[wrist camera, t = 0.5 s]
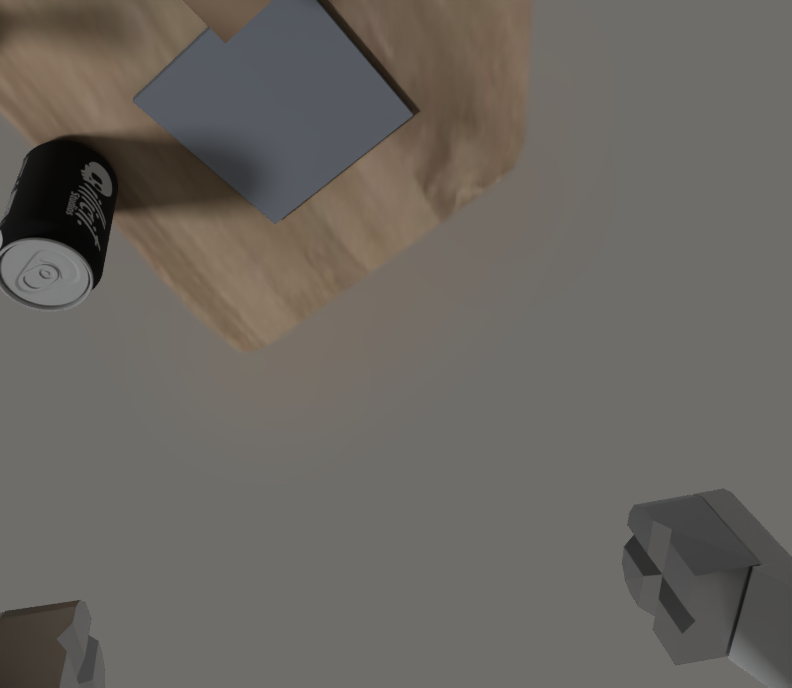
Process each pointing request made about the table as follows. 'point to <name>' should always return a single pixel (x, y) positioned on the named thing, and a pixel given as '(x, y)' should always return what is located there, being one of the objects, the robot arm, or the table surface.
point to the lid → (226, 14)
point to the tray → (275, 104)
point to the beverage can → (57, 226)
